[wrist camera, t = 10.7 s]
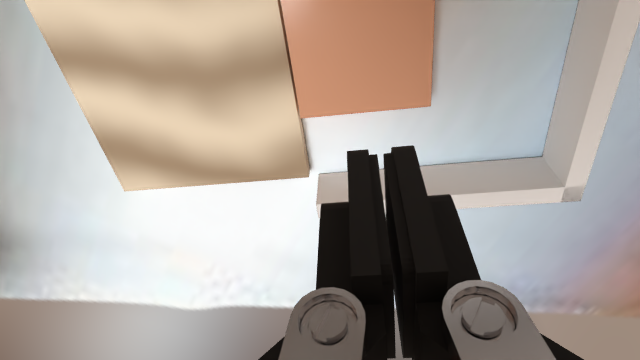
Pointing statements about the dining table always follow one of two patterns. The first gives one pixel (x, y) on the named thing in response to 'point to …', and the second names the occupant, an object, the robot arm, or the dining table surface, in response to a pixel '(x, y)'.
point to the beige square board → (181, 87)
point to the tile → (360, 54)
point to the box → (564, 131)
